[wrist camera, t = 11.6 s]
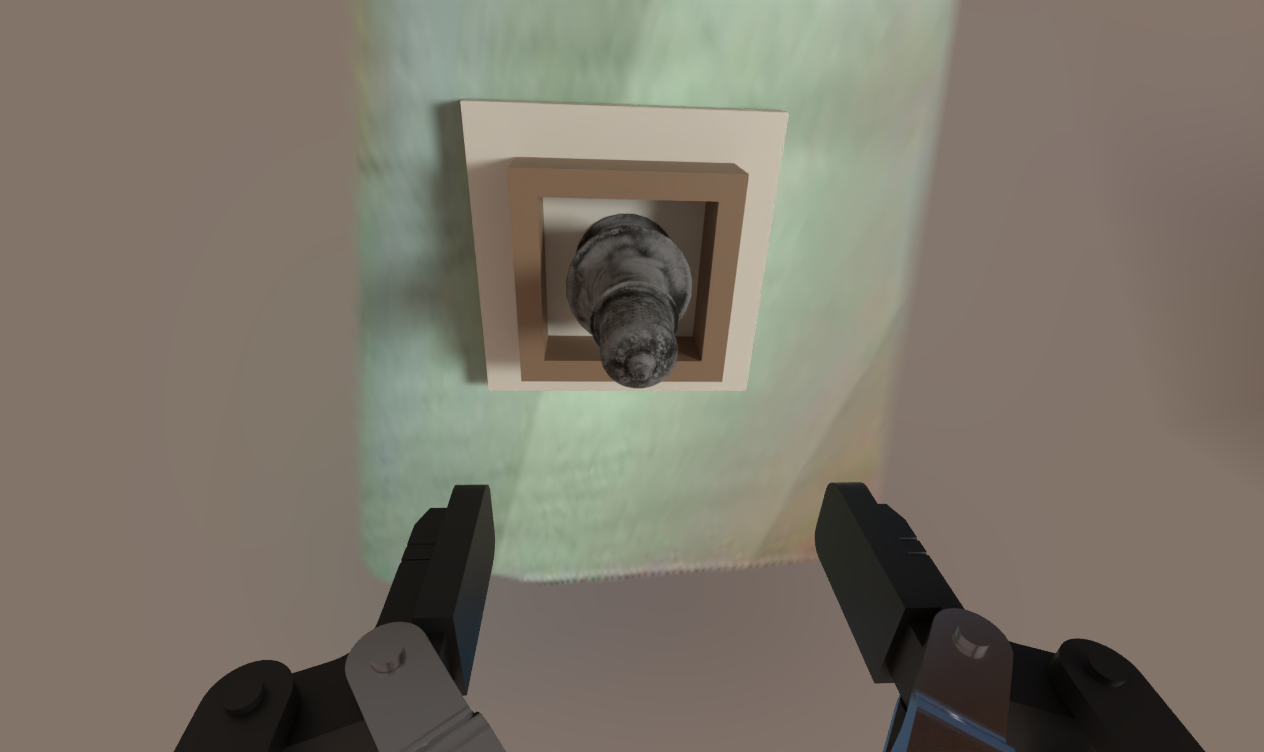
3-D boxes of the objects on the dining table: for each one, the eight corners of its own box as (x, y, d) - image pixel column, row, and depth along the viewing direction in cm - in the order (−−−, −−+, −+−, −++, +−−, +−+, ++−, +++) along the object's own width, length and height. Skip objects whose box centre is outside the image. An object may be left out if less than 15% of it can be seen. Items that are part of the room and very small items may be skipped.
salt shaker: (560, 214, 28) (540, 307, 18) (678, 200, 28) (728, 285, 18) (577, 323, 31) (569, 458, 21) (685, 310, 31) (731, 439, 21)
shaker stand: (466, 98, 27) (445, 105, 23) (779, 109, 28) (810, 118, 24) (492, 377, 34) (479, 419, 30) (740, 378, 35) (758, 418, 31)
